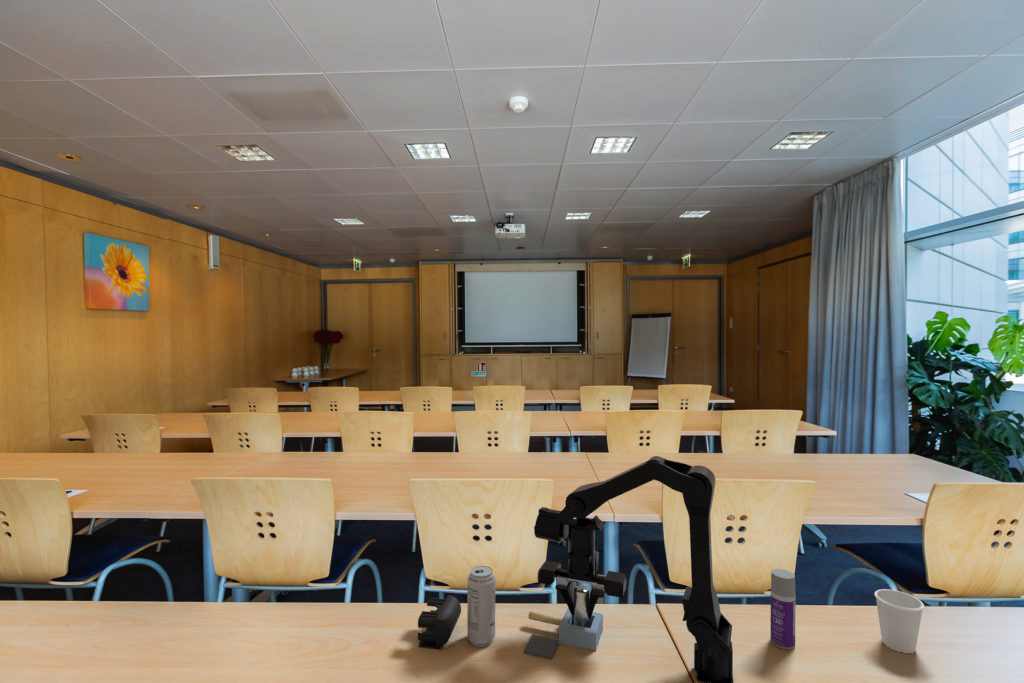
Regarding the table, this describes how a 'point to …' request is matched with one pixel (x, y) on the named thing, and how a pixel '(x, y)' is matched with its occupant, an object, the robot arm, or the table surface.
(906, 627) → the dixie cup
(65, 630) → the table surface
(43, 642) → the table surface
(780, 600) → the container
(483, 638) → the energy drink can
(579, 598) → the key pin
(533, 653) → the mat
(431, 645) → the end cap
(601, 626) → the blue-grey block with rod
